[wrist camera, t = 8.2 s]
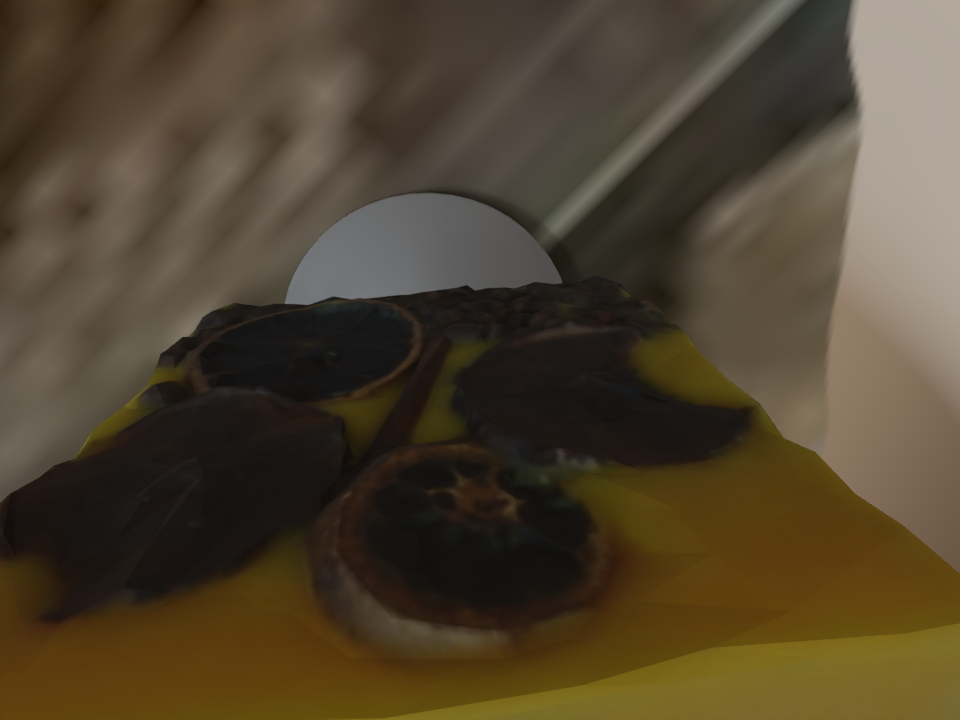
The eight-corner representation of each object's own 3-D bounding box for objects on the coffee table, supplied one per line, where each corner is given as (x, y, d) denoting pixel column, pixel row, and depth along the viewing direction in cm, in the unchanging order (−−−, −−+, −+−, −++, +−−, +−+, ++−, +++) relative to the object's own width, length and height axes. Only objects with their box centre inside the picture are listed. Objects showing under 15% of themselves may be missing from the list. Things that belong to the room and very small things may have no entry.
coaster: (300, 455, 25) (297, 463, 24) (268, 186, 19) (263, 188, 19) (552, 449, 26) (555, 457, 25) (583, 196, 21) (588, 199, 20)
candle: (606, 568, 17) (809, 1062, 8) (293, 608, 17) (144, 1195, 8) (625, 264, 13) (1098, 615, 4) (200, 301, 12) (-413, 832, 3)
